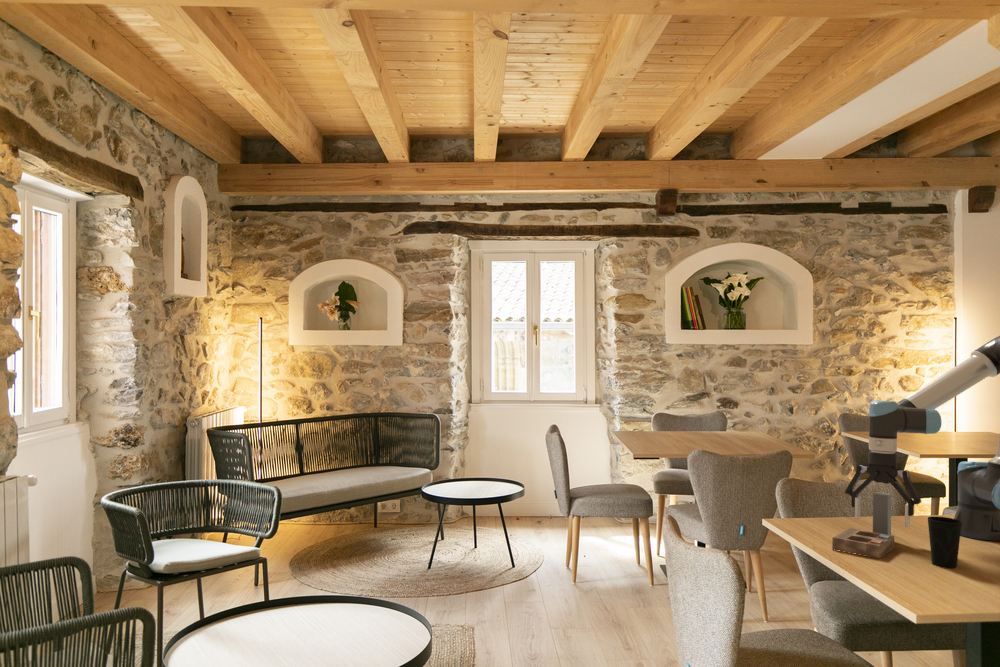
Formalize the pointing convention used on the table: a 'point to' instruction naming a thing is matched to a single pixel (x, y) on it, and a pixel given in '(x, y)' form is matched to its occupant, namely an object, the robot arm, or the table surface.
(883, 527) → the plug
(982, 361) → the robot arm
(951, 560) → the cup
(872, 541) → the socket block
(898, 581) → the table surface
